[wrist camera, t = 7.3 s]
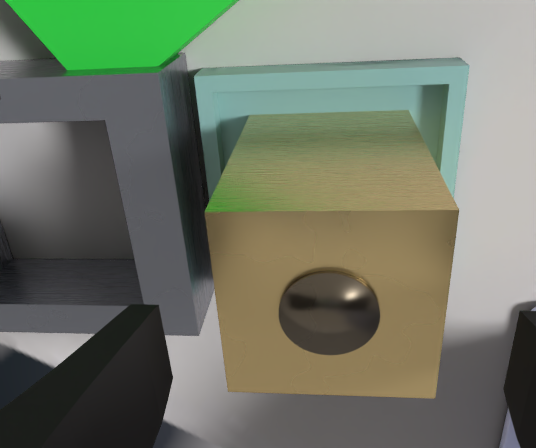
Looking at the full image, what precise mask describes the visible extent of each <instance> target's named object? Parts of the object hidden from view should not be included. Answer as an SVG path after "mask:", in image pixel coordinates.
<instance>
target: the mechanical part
mask: <svg viewBox="0 0 536 448" xmlns="http://www.w3.org/2000/svg"><path fill="white" fill-rule="evenodd" d="M5 1H6V2H7V3H8V4H9V6H10V7H11V8H12V9H13V10H14V11H15V12H16V13H17V15H18V16H19V17H20V18H21V19H22V20H23V21H24V22H25V24H26V25H27V26H28V27H29V28H30V29H31V30H32V31H33V33H34V34H35V35H36V36H37V37H38V38H39V39H40V40H41V41H42V43H43V44H44V45H45V46H46V47H47V48H48V49H49V50H50V52H51V53H52V54H53V55H54V56H55V57H56V58H57V59H58V61H59V62H60V63H61V64H62V65H63V66H64V67H65V68H66V70H85V69H107V68H129V67H151V66H159V65H161V64H162V63H164V62H165V61H167V60H168V59H170V58H171V57H173V56H174V55H176V54H177V53H179V52H180V51H181V50H182V49H183V48H184V47H185V46H187V45H188V44H189V43H190V42H191V41H192V40H194V39H195V38H196V37H197V36H198V35H199V34H201V33H202V32H203V31H204V30H205V29H206V28H208V27H209V26H210V25H211V24H212V23H213V22H214V21H216V20H217V19H218V18H219V17H220V16H221V15H223V14H224V13H225V12H226V11H227V10H228V9H230V8H231V7H232V6H233V5H234V4H235V3H236V2H238V1H239V0H5Z"/></svg>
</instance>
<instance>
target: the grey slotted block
mask: <svg viewBox="0 0 536 448" xmlns="http://www.w3.org/2000/svg"><path fill="white" fill-rule="evenodd" d="M95 120H105V122H106V127H107V132H108V136H109V141H110V146H111V151H112V155H113V160H114V165H115V170H116V174H117V179H118V184H119V189H120V193H121V198H122V203H123V207H124V212H125V217H126V222H127V226H128V231H129V236H130V241H131V245H132V250H133V255H134V259H135V260H127V259H13V257H12V254H11V251H10V248H9V245H8V242H7V239H6V236H5V233H4V230H3V227H2V224H1V221H0V332H38V333H87V334H96V333H97V332H98V331H100V330H101V329H102V328H103V327H104V326H105V325H107V324H108V323H109V322H110V321H111V320H112V319H114V318H115V317H116V316H117V315H118V314H119V313H121V312H122V311H123V310H124V309H126V308H127V307H128V306H129V305H131V304H147V305H159V309H160V314H161V319H162V324H163V329H164V335H183V336H199V334H200V331H201V328H202V325H203V322H204V319H205V316H206V313H207V310H208V307H209V304H210V301H211V298H212V295H213V292H214V289H215V288H214V281H213V273H212V265H211V258H210V250H209V242H208V235H207V227H206V219H205V203H204V195H203V187H202V180H201V172H200V164H199V156H198V149H197V141H196V133H195V125H194V118H193V110H192V102H191V94H190V87H189V79H188V71H187V64H186V56H185V53H177V54H176V55H174V56H173V57H171V58H170V59H168V60H167V61H165V62H164V63H162V64H161V65H159V66H151V67H129V68H107V69H85V70H66V68H65V67H64V66H63V65H62V64H61V63H60V62H59V61H58V59H37V60H15V61H0V123H28V122H62V121H95Z"/></svg>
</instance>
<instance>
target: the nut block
mask: <svg viewBox="0 0 536 448" xmlns="http://www.w3.org/2000/svg"><path fill="white" fill-rule="evenodd" d="M458 215H459V209H458V207H457V205H456V203H455V201H454V199H453V197H452V195H451V193H450V191H449V189H448V187H447V185H446V183H445V181H444V179H443V177H442V175H441V173H440V171H439V169H438V167H437V165H436V163H435V161H434V159H433V157H432V155H431V153H430V151H429V149H428V148H427V146H426V144H425V142H424V140H423V138H422V136H421V134H420V132H419V130H418V128H417V126H416V124H415V122H414V120H413V118H412V116H411V114H410V112H409V110H390V111H358V112H325V113H292V114H259V115H249V118H248V120H247V122H246V124H245V126H244V128H243V130H242V133H241V135H240V137H239V139H238V141H237V143H236V145H235V148H234V150H233V152H232V154H231V156H230V158H229V161H228V163H227V165H226V167H225V169H224V171H223V173H222V176H221V178H220V180H219V182H218V184H217V186H216V188H215V191H214V193H213V195H212V197H211V199H210V201H209V203H208V206H207V208H206V210H205V219H206V227H207V235H208V242H209V250H210V258H211V265H212V273H213V281H214V288H215V296H216V304H217V311H218V319H219V326H220V334H221V342H222V349H223V357H224V365H225V372H226V380H227V388H228V392H253V393H284V394H314V395H344V396H374V397H404V398H434V399H435V396H436V389H437V381H438V373H439V365H440V357H441V349H442V341H443V333H444V325H445V317H446V310H447V302H448V294H449V286H450V278H451V270H452V262H453V254H454V246H455V238H456V231H457V223H458Z"/></svg>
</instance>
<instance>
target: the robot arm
mask: <svg viewBox="0 0 536 448" xmlns="http://www.w3.org/2000/svg"><path fill="white" fill-rule="evenodd" d="M172 380H173V376H172V371H171V366H170V360H169V355H168V350H167V345H166V340H165V335H164V329H163V324H162V319H161V314H160V309H159V305H147V304H131V305H129V306H128V307H127V308H126V309H124V310H123V311H122V312H121V313H119V314H118V315H117V316H116V317H115V318H114V319H112V320H111V321H110V322H109V323H108V324H107V325H105V326H104V327H103V328H102V329H101V330H100V331H98V332H97V333H96V334H95V335H94V336H93V337H91V338H90V339H89V340H88V341H87V342H86V343H84V344H83V345H82V346H81V347H80V348H78V349H77V350H76V351H75V352H74V353H72V354H71V355H70V356H69V357H68V358H66V359H65V360H64V361H63V362H62V363H61V364H59V365H58V366H57V367H56V368H54V369H53V370H52V371H51V372H49V373H48V374H47V375H45V376H44V377H43V378H41V379H40V380H39V381H38V382H36V383H35V384H34V385H32V386H31V387H30V388H29V389H27V390H26V391H25V392H23V393H22V394H21V395H20V396H18V397H17V398H16V399H14V400H13V401H12V402H10V403H9V404H8V405H6V406H5V407H3V408H2V409H1V410H0V448H153V445H154V443H155V440H156V437H157V435H158V432H159V429H160V427H161V424H162V420H163V417H164V413H165V409H166V405H167V401H168V397H169V392H170V388H171V384H172ZM504 393H505V397H506V401H507V405H508V411H507V415H506V420H505V424H504V429H503V433H502V438H501V443H500V447H499V448H536V307H534V308H533V309H532V310H531V311H520V312H519V317H518V322H517V327H516V332H515V336H514V341H513V346H512V351H511V356H510V361H509V365H508V370H507V375H506V380H505V385H504Z"/></svg>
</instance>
